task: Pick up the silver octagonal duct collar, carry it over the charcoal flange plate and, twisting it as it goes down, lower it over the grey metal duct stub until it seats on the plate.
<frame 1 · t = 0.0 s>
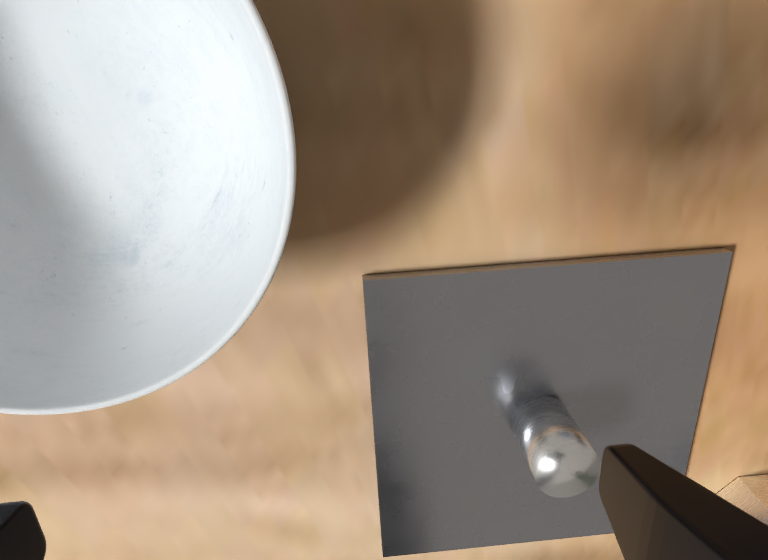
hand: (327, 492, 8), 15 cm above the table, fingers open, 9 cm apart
duct stub: (535, 412, 26), on the table
chinaware: (107, 117, 20), on the table
collar: (750, 522, 31), on the table
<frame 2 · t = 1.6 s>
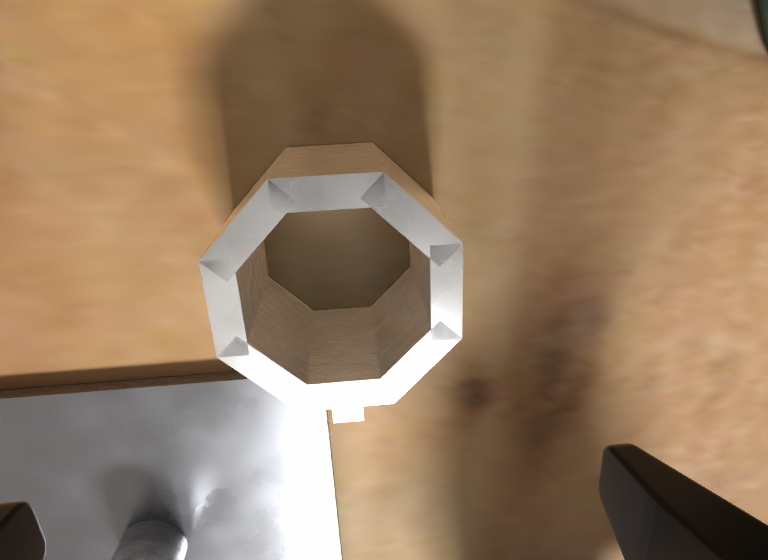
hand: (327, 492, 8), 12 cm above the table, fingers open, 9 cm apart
duct stub: (158, 533, 24), on the table
collar: (337, 243, 19), on the table
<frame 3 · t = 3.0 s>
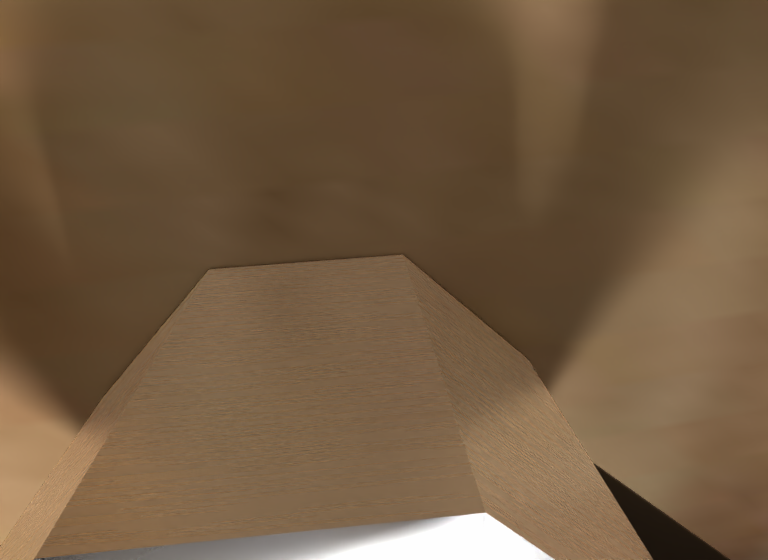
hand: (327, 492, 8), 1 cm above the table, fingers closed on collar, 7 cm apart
collar: (328, 447, 9), on the table, touching gripper
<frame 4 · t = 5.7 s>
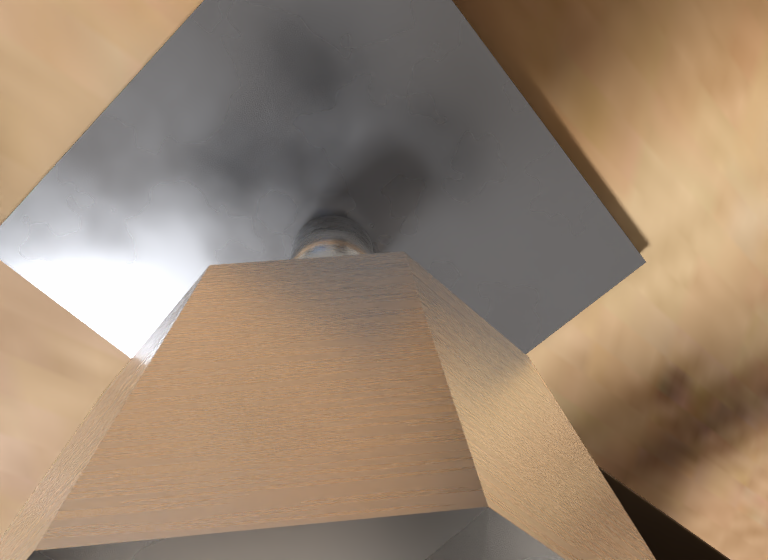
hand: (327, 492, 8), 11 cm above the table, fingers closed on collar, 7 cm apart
duct stub: (332, 248, 19), on the table
collar: (328, 445, 9), point 10 cm above the table, touching gripper
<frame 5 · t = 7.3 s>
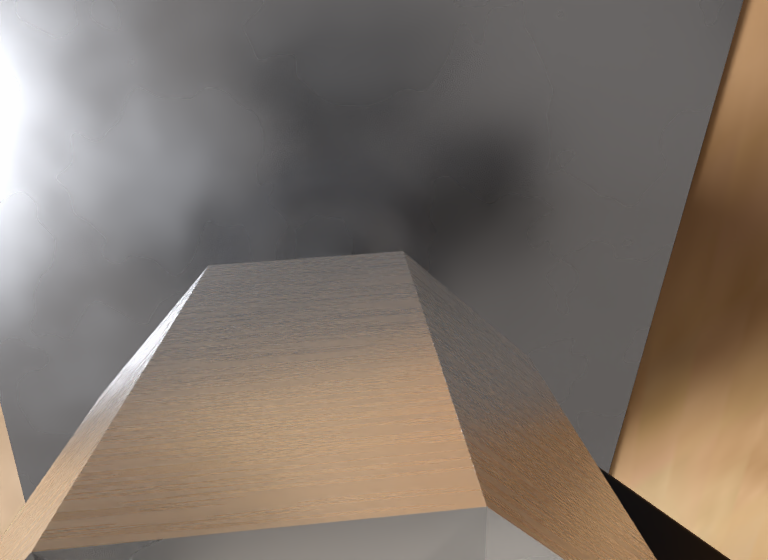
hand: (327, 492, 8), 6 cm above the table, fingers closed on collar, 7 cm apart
duct stub: (333, 324, 14), on the table
collar: (327, 445, 9), point 5 cm above the table, touching gripper
when the fingers open (2 cm above the table, at t = 8.4 s): collar stays where it is, resting on duct stub.
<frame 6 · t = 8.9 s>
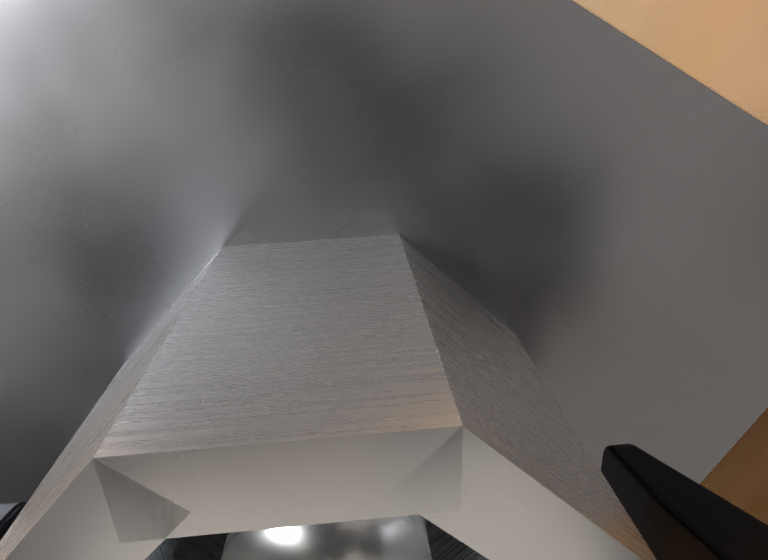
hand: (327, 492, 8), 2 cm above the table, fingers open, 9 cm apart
duct stub: (331, 398, 11), on the table
collar: (329, 415, 10), point 1 cm above the table, touching duct stub
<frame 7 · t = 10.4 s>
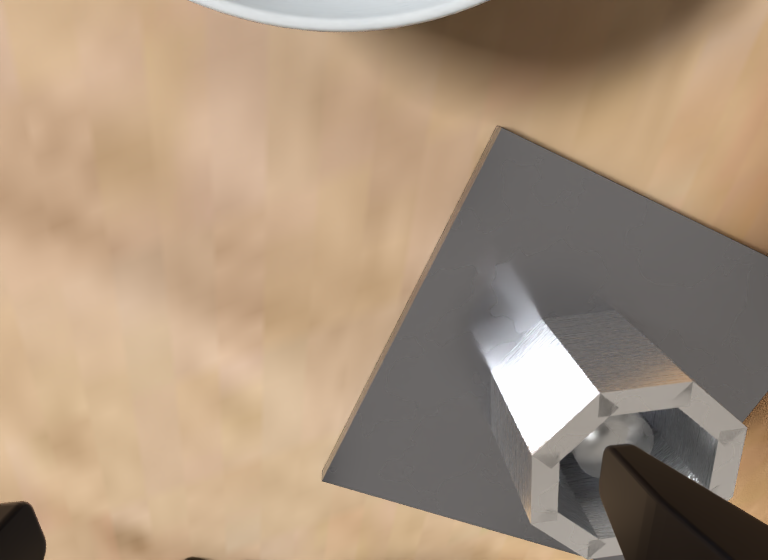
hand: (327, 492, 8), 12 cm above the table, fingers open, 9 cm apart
duct stub: (569, 382, 23), on the table
collar: (574, 390, 22), point 1 cm above the table, touching duct stub
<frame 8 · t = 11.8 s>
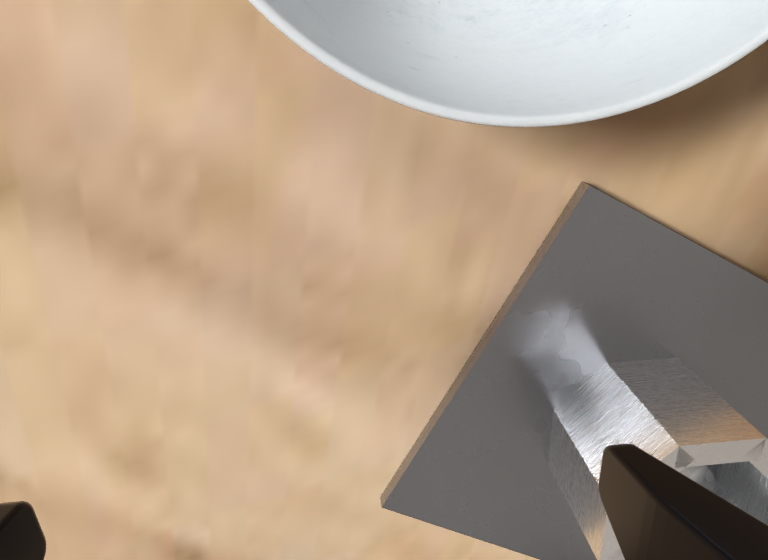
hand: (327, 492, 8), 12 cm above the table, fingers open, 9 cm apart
duct stub: (623, 422, 24), on the table
collar: (630, 430, 23), point 1 cm above the table, touching duct stub
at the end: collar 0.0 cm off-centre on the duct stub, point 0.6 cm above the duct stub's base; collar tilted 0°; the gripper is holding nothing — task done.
